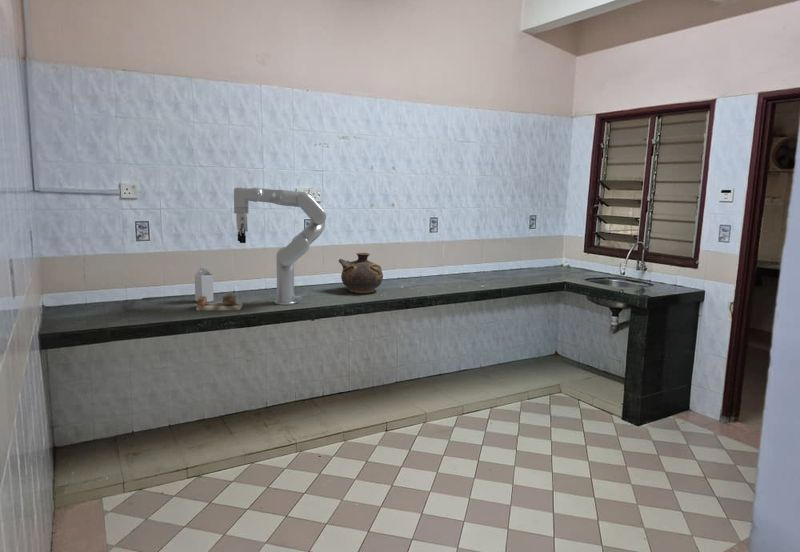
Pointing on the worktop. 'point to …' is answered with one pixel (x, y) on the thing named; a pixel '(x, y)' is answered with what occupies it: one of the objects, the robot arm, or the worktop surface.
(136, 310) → the worktop surface
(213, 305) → the rail board
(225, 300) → the keeper
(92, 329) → the worktop surface
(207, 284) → the milk carton
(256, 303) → the worktop surface
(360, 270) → the vessel
